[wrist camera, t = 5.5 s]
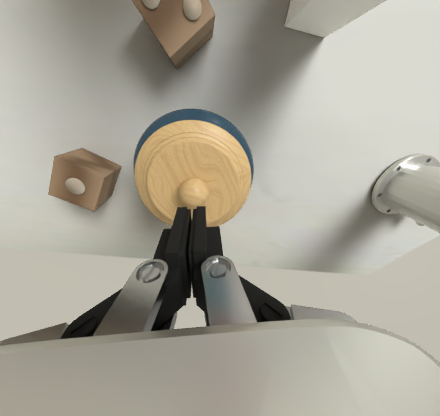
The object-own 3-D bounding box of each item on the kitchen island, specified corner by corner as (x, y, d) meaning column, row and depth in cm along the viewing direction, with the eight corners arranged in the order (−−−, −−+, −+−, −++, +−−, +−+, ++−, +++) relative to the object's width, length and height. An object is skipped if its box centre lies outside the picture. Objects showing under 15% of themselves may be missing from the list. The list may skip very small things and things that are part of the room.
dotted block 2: (212, 36, 23) (215, 13, 18) (177, 69, 24) (169, 57, 19) (181, -22, 20) (173, -70, 15) (143, 18, 22) (124, -13, 16)
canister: (238, 184, 33) (269, 248, 18) (169, 194, 33) (139, 267, 17) (233, 105, 27) (275, 95, 11) (147, 115, 27) (71, 120, 11)
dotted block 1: (121, 166, 30) (103, 178, 24) (112, 194, 32) (93, 211, 27) (82, 147, 28) (53, 156, 23) (75, 180, 30) (47, 194, 25)
